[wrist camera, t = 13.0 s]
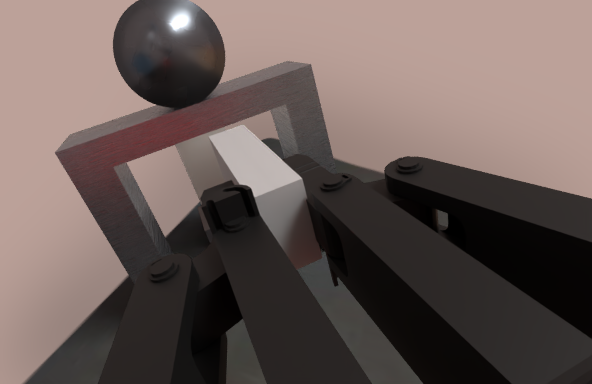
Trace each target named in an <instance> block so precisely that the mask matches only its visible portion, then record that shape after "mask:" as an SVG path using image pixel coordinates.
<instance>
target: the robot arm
mask: <svg viewBox="0 0 592 384" xmlns="http://www.w3.org/2000/svg"><path fill="white" fill-rule="evenodd" d="M209 139H210V142H211V145H212V147H213V150H214V153H215V156H216V158H217V161H218V164H219V166H220V169H221V172H222V175H223V177H224V180H225V182H224V183H222V184H219V185H217V186H214V187H211V188H209V189H206V190H204V191H203V193H202V196H201V198H200V199H201V202H202V205H201V208H202V211H203V213H204V216H205V218H206V220H207V223H208V225H209V228H210V230H211V232H212V235H213V238H212V241H211V243H210V244H209V246H208V247H207V248H206V249H205V250H204V251H203V252H201V253H200V254H199V255H197V256H196V257H194V258H193V259H191V258H190V257H189V256H188V255H186V254H181V253H176V254H170V255H167V256H164V257H160V258H158V259H156V260H155V261H153V262H151V263H150V264H149V265H148V266H147V267H146V268H145V269H143V270H142V271H141V273H140V274H139V276H138V277H137V279H136V282H135V284H134V287H133V290H132V292H131V295H130V298H129V301H128V303H127V306H126V309H125V312H124V314H123V317H122V320H121V322H120V325H119V328H118V331H117V333H116V336H115V339H114V341H113V344H112V347H111V350H110V352H109V355H108V358H107V360H106V363H105V366H104V369H103V371H102V374H101V377H100V379H99V382H98V384H226V367H227V336H226V331H228V330H229V329H230V328H231V327H233V326H234V325H235V324H236V323H238V322H239V321H240V320H241V319H243V320H244V322H245V325H246V328H247V331H248V333H249V336H250V339H251V342H252V344H253V347H254V350H255V352H256V355H257V358H258V361H259V363H260V366H261V369H262V372H263V374H264V377H265V380H266V383H267V384H372V383H371V382H370V380H369V379H368V377H367V376H366V374H365V373H364V371H363V370H362V368H361V367H360V365H359V364H358V362H357V360H356V359H355V357H354V356H353V354H352V353H351V351H350V350H349V348H348V347H347V345H346V344H345V342H344V341H343V339H342V338H341V336H340V335H339V333H338V332H337V330H336V329H335V327H334V326H333V324H332V323H331V321H330V320H329V318H328V317H327V315H326V314H325V312H324V311H323V309H322V308H321V306H320V305H319V303H318V302H317V300H316V299H315V297H314V296H313V294H312V293H311V291H310V290H309V288H308V286H307V285H306V283H305V282H304V280H303V279H302V277H301V276H300V274H299V273H298V271H297V269H299V268H302V267H304V266H306V265H308V264H310V263H313V262H315V261H317V260H319V259H321V258H322V254H321V250H320V246H319V244H320V245H321V246H322V248H323V249H324V250H325V252H326V256H327V260H328V264H329V268H330V272H331V276H332V280H333V283H334V286H335V287H336V286H338V282H337V277H339V279H340V280H341V281H342V282H343V284H344V285H345V286H346V287H347V289H348V290H349V291H350V292H351V294H352V295H353V296H354V297H355V299H356V300H357V301H358V302H359V304H360V305H361V306H362V307H363V309H364V310H365V311H366V312H367V314H368V315H369V316H370V317H371V319H372V320H373V321H374V322H375V324H376V325H377V326H378V327H379V329H380V330H381V331H382V332H383V334H384V335H385V336H386V337H387V339H388V340H389V341H390V342H391V344H392V345H393V346H394V347H395V349H396V350H397V351H398V352H399V354H400V355H401V356H402V357H403V359H404V360H405V361H406V362H407V364H408V365H409V366H410V367H411V369H412V370H413V371H414V372H415V374H416V375H417V376H418V377H419V379H420V380H421V381H422V382H423V384H592V199H591V198H587V197H583V196H579V195H574V194H570V193H566V192H562V191H558V190H554V189H550V188H546V187H542V186H538V185H534V184H530V183H526V182H521V181H517V180H513V179H509V178H505V177H501V176H497V175H493V174H489V173H485V172H481V171H477V170H472V169H468V168H465V167H460V166H456V165H452V164H448V163H444V162H440V161H436V160H432V159H428V158H423V157H409V156H407V157H403V158H399V159H397V160H395V161H393V162H390V163H389V164H388V165H387V166H386V167H385V170H384V172H385V179H382V180H378V181H373V182H368V183H363V182H362V181H360V180H359V179H358V178H356V177H355V176H352V175H350V174H343V173H338V174H332V173H330V172H329V171H328V170H326V169H325V168H324V167H322V166H320V164H318V163H317V162H315V161H314V160H313V159H312V158H310V157H309V156H306V155H301V154H295V155H293V156H290V157H288V158H285V159H282V160H281V159H280V158H279V157H278V156H277V155H276V154H275V153H274V152H273V151H272V150H270V149H269V148H268V147H267V146H266V145H265V144H264V143H263V142H262V141H261V140H259V139H258V138H257V137H256V136H255V135H254V134H253V133H252V132H251V131H250V130H248V129H247V128H246V127H245V126H244V125H240V126H237V127H235V128H232V129H229V130H226V131H223V132H220V133H217V134H214V135H211V136H209ZM438 210H440V211H443V212H446V213H448V227H445V226H442V225H439V224H438Z"/></svg>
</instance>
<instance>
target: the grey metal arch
mask: <svg viewBox="0 0 592 384" xmlns="http://www.w3.org/2000/svg"><path fill="white" fill-rule="evenodd" d="M113 52H114V58H115V62H116V65H117V67H118V70H119V72H120V74H121V76H122V77H123V79H124V80H125V82H126V83H127V84H128V86H129V87H130V88H131V89H132V90H133V91H134V92H136V93H137V94H138V95H139V96H141V97H142V98H143V99H145V100H147V101H149V102H151V103H153V104H156V106H153V107H150V108H148V109H144V110H141V111H138V112H135V113H132V114H130V115H126V116H123V117H120V118H118V119H115V120H112V121H109V122H106V123H103V124H100V125H97V126H94V127H91V128H88V129H85V130H82V131H79V132H76V133H73V134H70V135H69V136H68V138H67V139H66V140H65V141H64V142H63V144H62V145H61V146H60V147H59V148H58V150H57V151H56V152H55V154H56V155H57V157H58V159H59V160H60V162H61V164H62V165H63V167H64V168H65V170H66V172H67V173H68V175H69V177H70V178H71V180H72V182H73V183H74V185H75V187H76V188H77V190H78V192H79V193H80V195H81V197H82V198H83V200H84V202H85V203H86V205H87V206H88V208H89V210H90V211H91V213H92V215H93V217H94V218H95V220H96V221H97V223H98V225H99V226H100V228H101V230H102V231H103V233H104V235H105V236H106V238H107V240H108V241H109V243H110V244H111V246H112V248H113V249H114V251H115V253H116V254H117V256H118V258H119V259H120V261H121V263H122V265H123V266H124V268H125V269H126V271H127V273H128V274H129V276H130V278H131V279H132V281H133V283H134V284H135V282H136V279H137V277H138V276H139V274H140V273H141V271H142V270H143V269H145V268H146V267H147V266H148V265H149V264H150V263H151V262H153V261H155V260H156V259H158V258H160V257H164V256H167V255H170V254H173V252H172V250H171V248H170V246H169V244H168V242H167V240H166V238H165V236H164V235H163V233H162V231H161V229H160V227H159V225H158V223H157V221H156V219H155V217H154V215H153V213H152V211H151V209H150V207H149V206H148V204H147V202H146V200H145V198H144V196H143V194H142V192H141V190H140V188H139V186H138V184H137V182H136V180H135V179H134V176H133V175H132V173H131V171H130V169H129V167H128V165H127V163H126V162H128V161H131V160H134V159H137V158H140V157H142V156H145V155H147V154H151V153H153V152H156V151H159V150H162V149H164V148H167V147H170V146H173V145H175V144H178V143H181V142H184V141H186V140H189V139H192V138H195V137H197V136H200V135H203V134H206V133H208V132H211V131H214V130H217V129H219V128H222V127H225V126H227V125H230V124H233V123H236V122H238V121H241V120H244V119H247V118H249V117H252V116H255V115H257V114H260V113H263V112H266V111H269V110H271V114H272V117H273V120H274V123H275V126H276V130H277V133H278V137H279V140H280V143H281V147H282V150H283V153H284V157H285V158H288V157H290V156H293V155H295V154H301V155H306V156H309V157H310V158H312V159H313V160H314V161H315V162H317V163H318V164H320V166H322V167H324V168H325V169H326V170H328V171H329V172H330V173H332V174H337V172H336V167H335V163H334V159H333V155H332V151H331V146H330V142H329V138H328V134H327V130H326V125H325V121H324V117H323V113H322V109H321V104H320V100H319V96H318V92H317V88H316V83H315V79H314V75H313V71H312V67H311V64H305V63H297V62H290V61H286V62H283V63H280V64H277V65H274V66H272V67H268V68H266V69H263V70H260V71H257V72H254V73H251V74H248V75H245V76H242V77H239V78H236V79H233V80H230V81H227V82H224V83H221V84H218V83H219V82H220V79H221V77H222V74H223V71H224V67H225V50H224V44H223V40H222V37H221V34H220V32H219V30H218V28H217V26H216V25H215V23H214V22H213V20H212V19H211V18H210V17H209V15H208V14H207V13H206V12H205V11H204V10H202V9H201V8H200V7H199V6H197V5H196V4H194V3H193V2H191V1H189V0H139V1H137V2H135V3H134V4H132V5H131V6H130V7H129V8H128V9H127V10H126V11H125V12H124V13H123V15H122V16H121V18H120V20H119V21H118V23H117V26H116V29H115V32H114V39H113Z"/></svg>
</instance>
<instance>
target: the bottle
mask: <svg viewBox="0 0 592 384" xmlns="http://www.w3.org/2000/svg"><path fill="white" fill-rule="evenodd" d="M223 131H225V128H224V127H222V128H219V129H217V130H214V131H211V132H208V133H206V134H203V135H200V136H197V137H195V138H192V139H189V140H186V141H184V142H181V143H178V144H175V146H176V148H177V150H178V152H179V155H180V157H181V159H182V162H183V164H184V166H185V168H186V171H187V173H188V175H189V177H190V179H191V182H192V184H193V186H194V189H195V191H196V193H197V195H198V198H199V200H200V202H201V199H200V198H201V196H202V193H203V191H204V190H206V189H209V188H211V187H214V186H217V185H219V184H222V183H224V182H225V180H224V177H223V175H222V172H221V169H220V166H219V164H218V161H217V158H216V156H215V153H214V150H213V147H212V145H211V142H210V139H209V136H211V135H214V134H217V133H220V132H223ZM201 205H202V202H201ZM198 210H199V214H200V217H201V220H202V224H203V227H204V230H205V233H206V235H207V237H208V239H209V242H210V243H211V241H212V238H213V235H212V232H211V230H210V228H209V225H208V223H207V220H206V218H205V216H204V213H203V211H202V208H201V206H199V207H198Z"/></svg>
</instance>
